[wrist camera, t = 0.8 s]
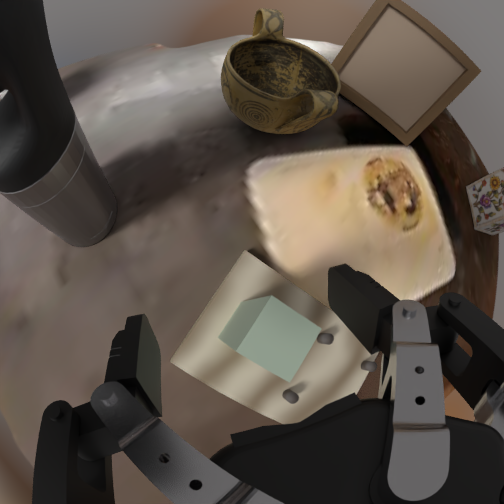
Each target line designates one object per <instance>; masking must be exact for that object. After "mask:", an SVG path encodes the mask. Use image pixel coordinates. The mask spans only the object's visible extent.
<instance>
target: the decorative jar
mask: <svg viewBox="0 0 504 504" xmlns="http://www.w3.org/2000/svg"><path fill="white" fill-rule="evenodd" d="M466 191H467V195H468V199H469V204H470V208H471V213H472V218H473V224H474V229H475V230H478V231H481V232H484V233H487V234H490V235H495V234H498V233H501V232H504V167H503V168H501V169H499V170H497V171H495V172H493V173H491V174H489V175H487V176H485V177H483V178H481V179H479V180H477V181H475V182H474V183H472V184H470V185H468V186H466Z"/></svg>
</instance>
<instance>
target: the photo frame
mask: <svg viewBox="0 0 504 504" xmlns="http://www.w3.org/2000/svg"><path fill="white" fill-rule="evenodd" d="M331 65H332V66H333V67H334V68H335V70H336V72H337V73H338V75H339V78H340V82H341V89H340V92H339V93H340V94H342V95H343V96H345V97H346V98H347V99H349V100H350V101H352V102H353V103H354V104H356V105H357V106H358V107H360V108H361V109H362V110H364V111H365V112H366V113H368V114H369V115H370V116H371V117H373V118H374V119H375V120H376V121H378V122H379V123H380V124H381V125H383V126H384V127H385V128H386V129H387V130H389V131H390V132H391V133H392V134H393V135H394V136H396V137H397V138H398V139H399V140H400V141H401V142H402V143H403V144H405V145H406V146H408V145H409V144H410V143H411V142H412V141H413V140H414V139H415V138H416V137H417V136H418V135H419V134H420V133H421V132H422V131H423V130H424V129H425V128H426V127H427V126H428V125H429V124H430V123H431V122H432V121H433V120H434V119H435V118H436V117H437V116H438V115H439V114H440V113H441V112H442V111H443V110H444V109H445V108H446V107H447V106H448V105H449V104H450V103H451V102H452V101H453V100H454V99H455V98H456V97H457V96H458V95H459V94H460V93H461V92H462V91H463V90H464V89H465V88H466V87H467V86H468V85H469V84H470V83H471V81H473V80H474V78H475V77H476V76H477V75H478V74H479V73H480V72H481V70H480V69H479V68H478V67H477V66H476V65H475V64H474V63H473V61H472V60H470V59H469V57H468V56H467V55H466V54H465V53H464V52H463V51H462V50H461V49H460V48H459V47H458V46H457V45H456V44H455V43H453V42H452V41H451V40H450V39H449V38H448V37H447V36H446V35H445V34H444V33H443V32H441V31H440V30H439V29H438V28H437V27H435V26H434V25H433V24H432V23H431V22H429V21H428V20H427V19H426V18H424V17H423V16H422V15H420V14H419V13H418V12H417V11H415V10H414V9H412V8H411V7H410V6H408V5H407V4H406V3H404V2H402V1H401V0H376V1H375V2H374V4H373V5H372V7H371V8H370V9H369V11H368V12H367V13H366V15H365V16H364V18H363V19H362V21H361V22H360V23H359V25H358V26H357V28H356V29H355V31H354V32H353V33H352V35H351V36H350V38H349V39H348V41H347V42H346V43H345V45H344V46H343V48H342V49H341V51H340V52H339V54H338V55H337V57H336V58H335V59H334V61H333V62H332V64H331Z"/></svg>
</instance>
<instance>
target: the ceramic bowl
mask: <svg viewBox="0 0 504 504" xmlns="http://www.w3.org/2000/svg"><path fill="white" fill-rule="evenodd" d="M283 20H284V19H283V14H282V12H281V11H279V10H271V9H259V10H258V11H257V12H256V15H255V19H254V28H253V36H252V37H250V38H246V39H243V40H240V41H239V42H237V43H235V44H234V45H232V46H231V47H230V49H229V50H228V52H227V55H226V57H225V60H224V63H223V67H222V73H221V85H222V92H223V96H224V99H225V101H226V103H227V105H228V106H229V108H230V110H231V111H232V112H233V113H234V114H235V115H236V116H237V117H238V118H239V119H240V120H241V121H243V122H244V123H245V124H247V125H249V126H251V127H253V128H255V129H257V130H260V131H264V132H268V133H275V134H293V133H298V132H301V131H305V130H307V129H309V128H311V127H313V126H314V125H316V124H317V123H318V122H320V121H321V120H323V119H325V118H328V117H330V116H332V115H333V114H334V113H335V112H336V111H337V109H338V98H337V97H338V95H339V92H340V89H341V82H340V78H339V75H338V73H337V72H336V70H335V68H334V67H333V66H332V65H331V64H330V63H329V61H327V60H326V59H325V58H324V57H323V56H321V55H320V54H319V53H317V52H316V51H314V50H312V49H311V48H309V47H307V46H305V45H302V44H301V43H298V42H295V41H292V40H289V39H286V38H285V37H284V36H283V22H284V21H283Z"/></svg>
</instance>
